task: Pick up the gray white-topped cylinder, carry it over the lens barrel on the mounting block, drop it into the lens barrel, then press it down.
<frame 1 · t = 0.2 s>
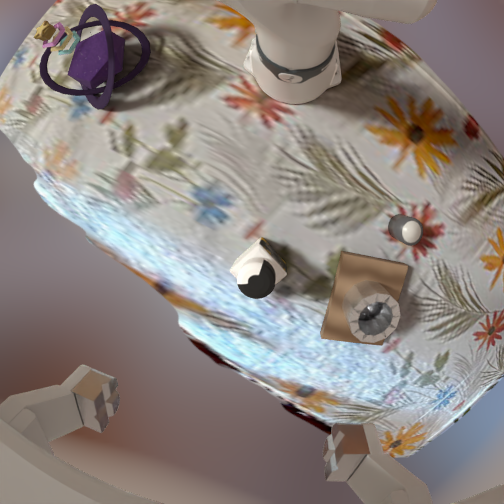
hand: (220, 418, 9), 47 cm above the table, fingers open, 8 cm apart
decorative bottle: (111, 67, 50), on the table
lens barrel: (365, 303, 54), resting on mounting block
mounting block: (362, 298, 57), on the table
medicine bottle: (260, 261, 57), on the table
gray white-topped cylinder: (399, 226, 53), on the table
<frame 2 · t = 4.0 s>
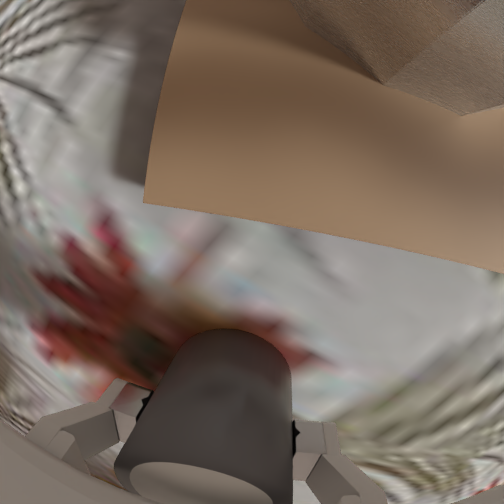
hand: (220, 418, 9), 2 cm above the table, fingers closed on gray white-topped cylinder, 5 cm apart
mounting block: (397, 14, 7), on the table
gray white-topped cylinder: (230, 379, 11), on the table, touching gripper
when the fingers open (11 cm above the table, at t = 9.9 s): gray white-topped cylinder drops 5 cm, resting on lens barrel.
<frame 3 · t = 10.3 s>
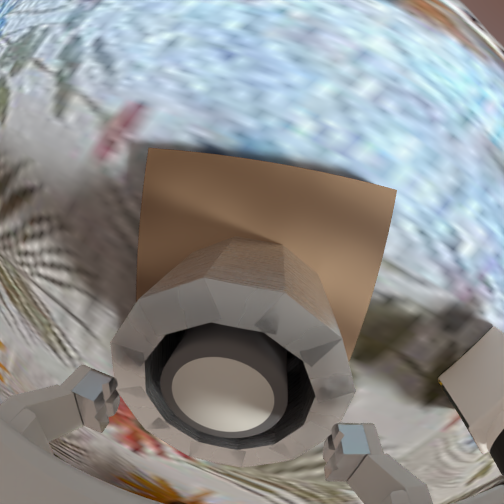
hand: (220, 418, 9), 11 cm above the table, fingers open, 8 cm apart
lens barrel: (245, 319, 17), resting on mounting block
mounting block: (249, 303, 19), on the table
medicine bottle: (474, 369, 20), on the table
gray white-topped cylinder: (241, 327, 16), point 4 cm above the table, touching lens barrel
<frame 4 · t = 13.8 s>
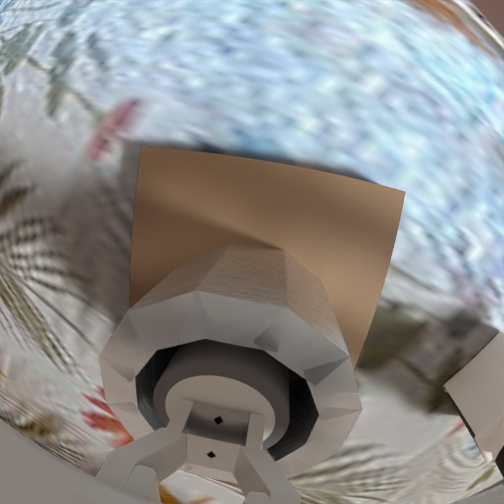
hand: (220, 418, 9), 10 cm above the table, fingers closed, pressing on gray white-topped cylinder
lens barrel: (244, 328, 16), resting on mounting block
mounting block: (248, 310, 18), on the table
medicine bottle: (479, 376, 18), on the table
gray white-topped cylinder: (239, 337, 15), point 3 cm above the table, touching gripper, lens barrel
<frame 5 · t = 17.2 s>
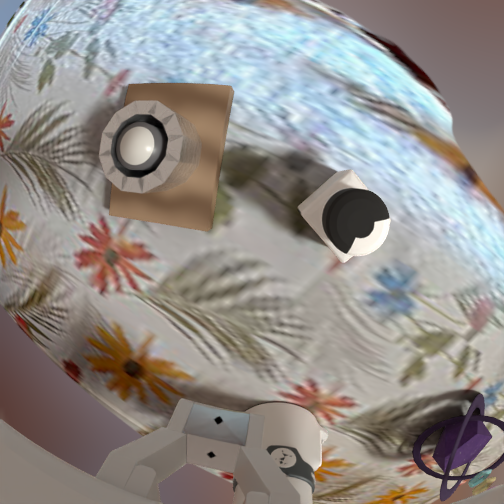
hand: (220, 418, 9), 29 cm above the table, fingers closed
decorative bottle: (452, 427, 43), on the table
lens barrel: (163, 151, 33), resting on mounting block
mounting block: (170, 152, 36), on the table
medicine bottle: (335, 210, 36), on the table
gray white-topped cylinder: (159, 150, 32), point 3 cm above the table, touching lens barrel
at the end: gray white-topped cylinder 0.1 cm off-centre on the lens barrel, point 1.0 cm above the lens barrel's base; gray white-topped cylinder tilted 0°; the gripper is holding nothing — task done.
